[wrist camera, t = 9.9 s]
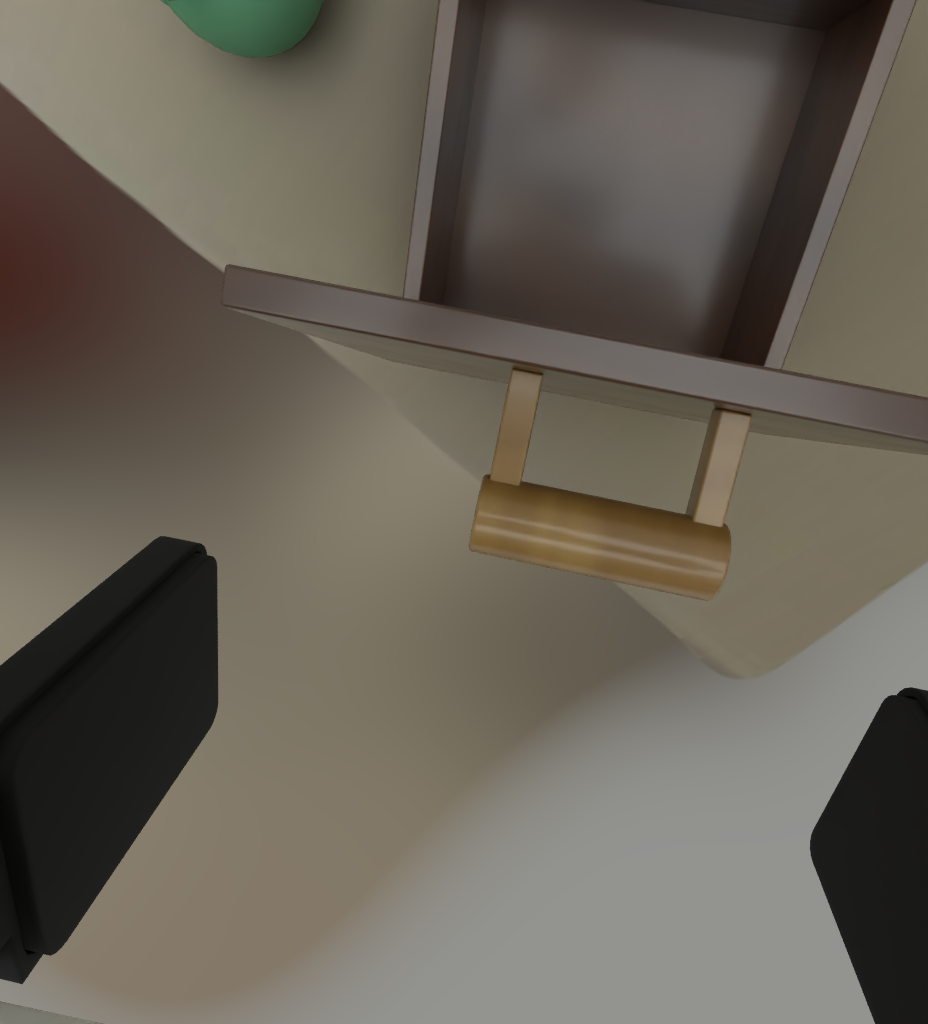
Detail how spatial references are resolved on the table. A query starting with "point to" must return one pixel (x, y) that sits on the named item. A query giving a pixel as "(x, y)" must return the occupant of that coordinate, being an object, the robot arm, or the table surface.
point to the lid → (603, 378)
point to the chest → (644, 162)
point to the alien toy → (249, 23)
